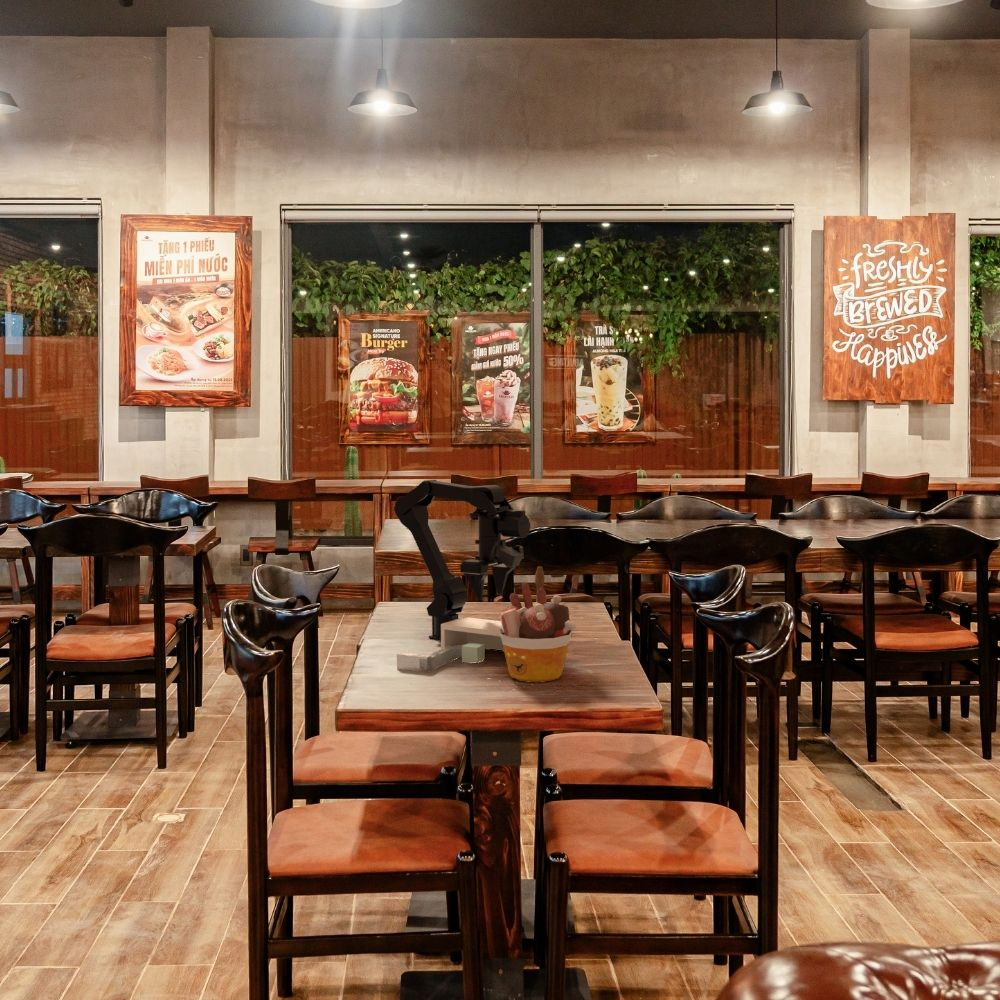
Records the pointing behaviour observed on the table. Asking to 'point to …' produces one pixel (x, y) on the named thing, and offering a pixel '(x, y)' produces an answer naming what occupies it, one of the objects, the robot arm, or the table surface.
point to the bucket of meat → (535, 636)
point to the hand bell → (539, 581)
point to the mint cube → (473, 652)
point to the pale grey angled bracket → (428, 659)
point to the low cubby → (472, 632)
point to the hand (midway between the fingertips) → (490, 596)
